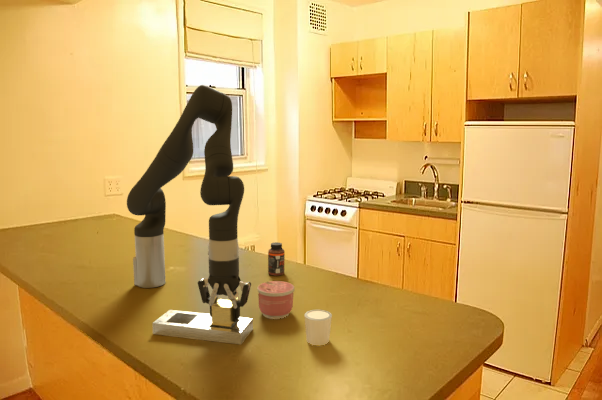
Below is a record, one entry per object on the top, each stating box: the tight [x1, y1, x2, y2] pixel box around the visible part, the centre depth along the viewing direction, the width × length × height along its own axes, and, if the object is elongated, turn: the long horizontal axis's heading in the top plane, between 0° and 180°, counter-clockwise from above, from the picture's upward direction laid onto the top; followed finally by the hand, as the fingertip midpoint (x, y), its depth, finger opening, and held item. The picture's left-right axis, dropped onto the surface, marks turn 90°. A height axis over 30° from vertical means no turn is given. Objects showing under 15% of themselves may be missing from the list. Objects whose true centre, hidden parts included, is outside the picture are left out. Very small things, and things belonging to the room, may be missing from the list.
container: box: [256, 280, 295, 320], centre depth 132 cm, size 10×10×8 cm
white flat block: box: [151, 309, 254, 345], centre depth 121 cm, size 24×9×3 cm, turn 77°
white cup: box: [304, 309, 333, 346], centre depth 115 cm, size 7×7×7 cm
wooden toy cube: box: [212, 298, 235, 327], centre depth 119 cm, size 5×5×5 cm
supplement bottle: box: [267, 242, 286, 277], centre depth 168 cm, size 6×6×11 cm
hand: (225, 319), depth 119 cm, fingers closed on wooden toy cube, 5 cm apart
